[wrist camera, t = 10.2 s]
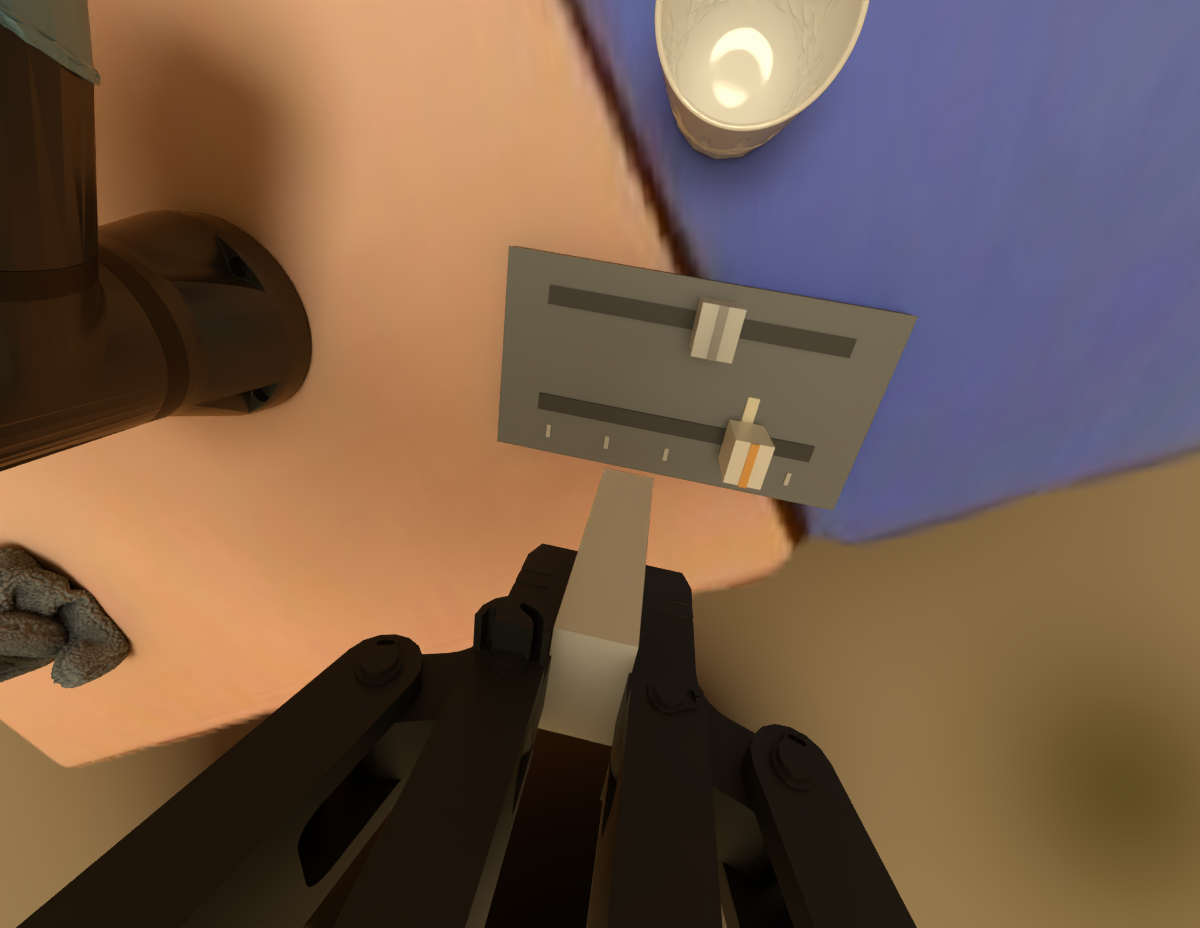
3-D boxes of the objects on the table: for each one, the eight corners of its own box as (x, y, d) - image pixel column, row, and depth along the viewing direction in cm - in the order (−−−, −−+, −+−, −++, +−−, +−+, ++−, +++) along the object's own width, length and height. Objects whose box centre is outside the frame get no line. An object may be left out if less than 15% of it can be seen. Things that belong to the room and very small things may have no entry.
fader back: (718, 457, 33) (723, 483, 29) (729, 419, 32) (736, 441, 28) (751, 464, 33) (760, 491, 29) (763, 425, 32) (775, 448, 28)
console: (505, 433, 37) (496, 442, 36) (517, 246, 31) (507, 245, 30) (825, 498, 36) (834, 512, 34) (904, 313, 30) (919, 317, 28)
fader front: (688, 344, 30) (690, 356, 26) (700, 296, 29) (703, 302, 25) (725, 350, 30) (731, 364, 26) (738, 303, 29) (747, 310, 25)
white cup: (811, 144, 27) (879, 86, 18) (678, 190, 29) (678, 159, 20) (795, -28, 24) (866, -201, 15) (648, 36, 26) (633, -82, 17)
